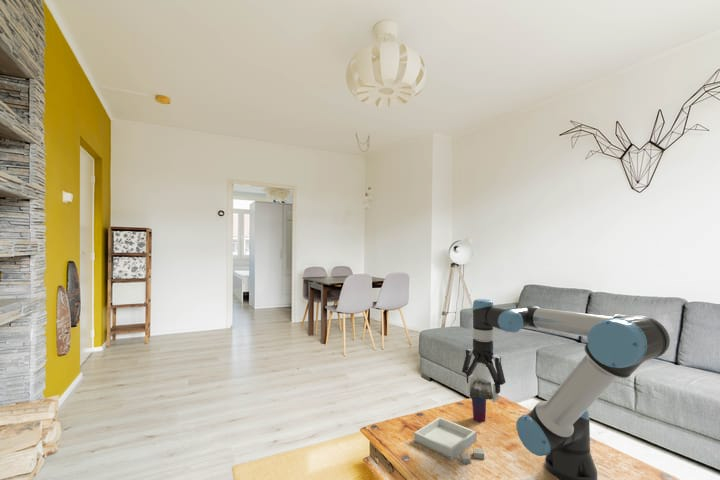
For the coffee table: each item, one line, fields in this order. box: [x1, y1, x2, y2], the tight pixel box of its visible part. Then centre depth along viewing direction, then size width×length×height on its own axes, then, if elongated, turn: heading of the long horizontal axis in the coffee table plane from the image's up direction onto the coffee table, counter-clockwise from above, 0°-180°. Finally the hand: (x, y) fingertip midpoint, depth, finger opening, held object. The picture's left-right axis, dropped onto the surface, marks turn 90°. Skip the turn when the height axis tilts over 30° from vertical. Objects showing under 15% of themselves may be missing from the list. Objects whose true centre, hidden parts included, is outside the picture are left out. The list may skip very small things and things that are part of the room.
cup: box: [471, 397, 487, 423], centre depth 153 cm, size 7×7×15 cm
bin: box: [413, 417, 478, 461], centre depth 136 cm, size 17×18×4 cm
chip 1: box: [459, 453, 472, 464], centre depth 123 cm, size 3×3×2 cm
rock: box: [469, 377, 493, 401], centre depth 135 cm, size 13×9×6 cm, turn 158°
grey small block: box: [472, 448, 485, 460], centre depth 125 cm, size 4×3×2 cm
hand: (482, 396), depth 134 cm, fingers closed on rock, 10 cm apart
